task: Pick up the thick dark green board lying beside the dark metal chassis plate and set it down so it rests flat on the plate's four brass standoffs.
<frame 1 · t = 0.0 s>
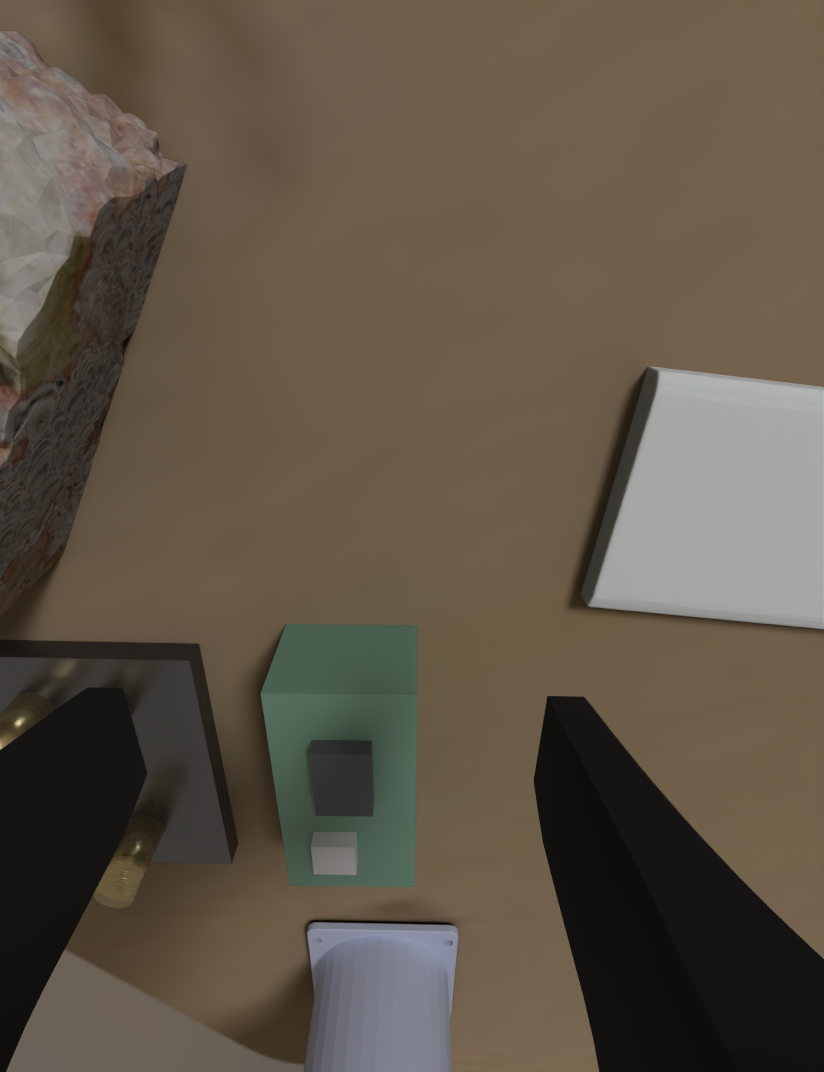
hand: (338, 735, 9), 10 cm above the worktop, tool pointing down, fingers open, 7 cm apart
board: (357, 718, 23), on the worktop
chassis: (106, 752, 24), on the worktop
external hard drive: (776, 502, 19), on the worktop
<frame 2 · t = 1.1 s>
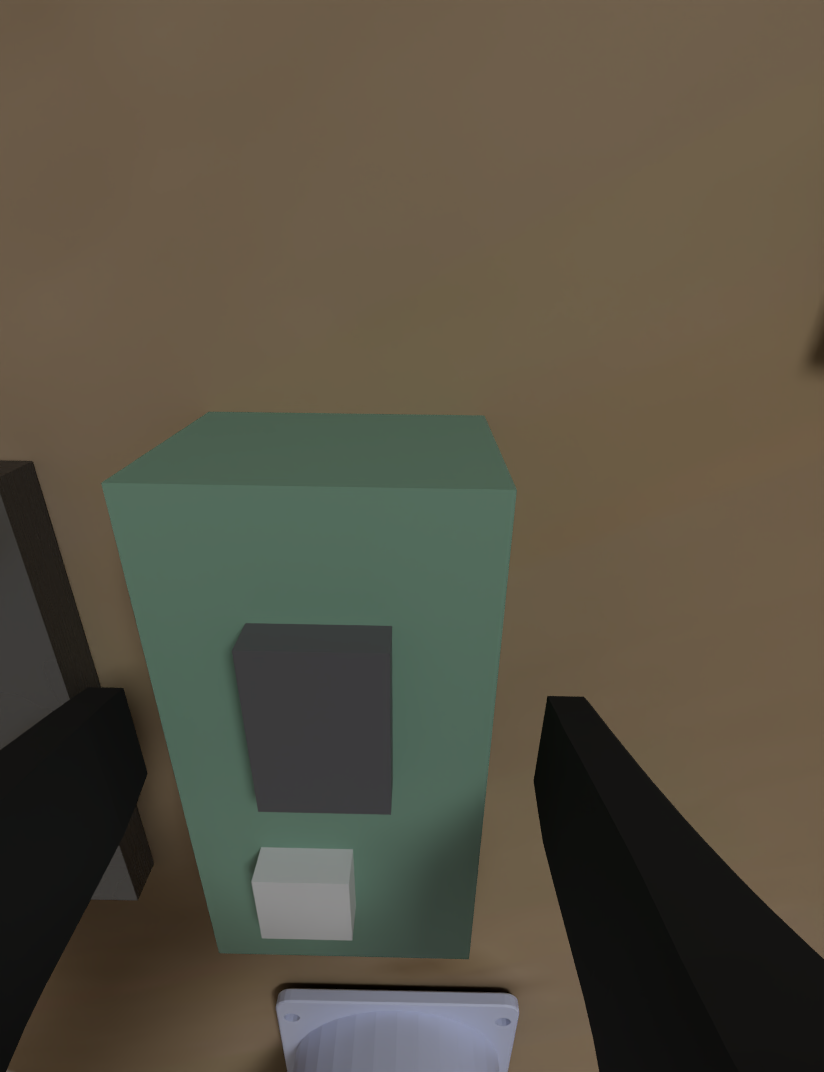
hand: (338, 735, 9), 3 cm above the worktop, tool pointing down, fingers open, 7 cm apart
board: (356, 631, 12), on the worktop
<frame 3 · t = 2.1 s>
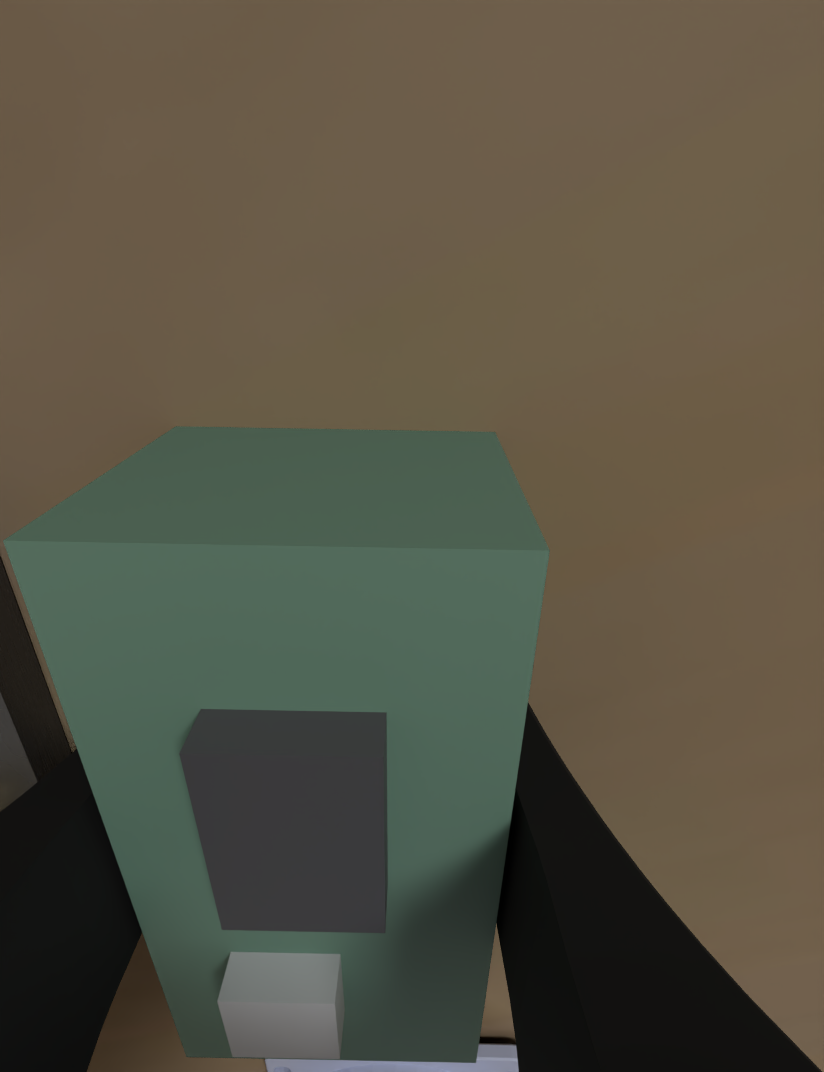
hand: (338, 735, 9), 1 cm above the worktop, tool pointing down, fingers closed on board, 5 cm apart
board: (347, 677, 11), on the worktop, touching gripper
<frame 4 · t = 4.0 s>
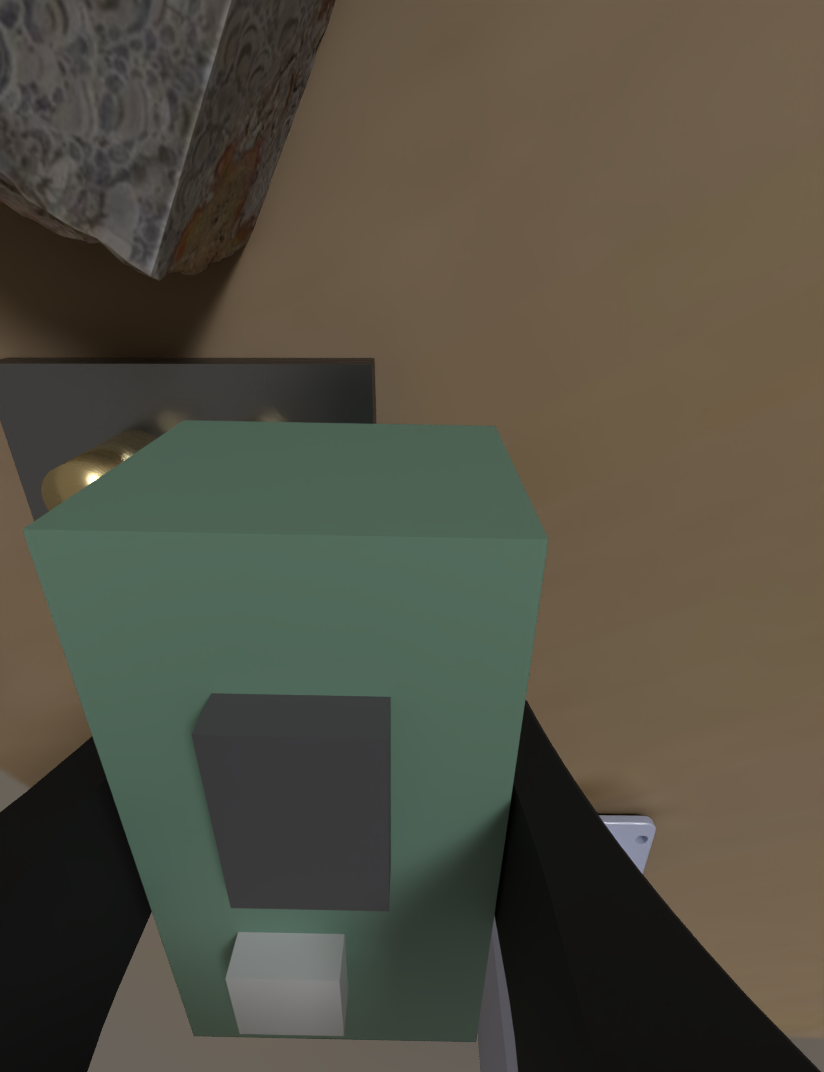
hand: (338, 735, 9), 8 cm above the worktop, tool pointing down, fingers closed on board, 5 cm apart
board: (350, 667, 11), point 7 cm above the worktop, touching gripper
chassis: (224, 553, 17), on the worktop
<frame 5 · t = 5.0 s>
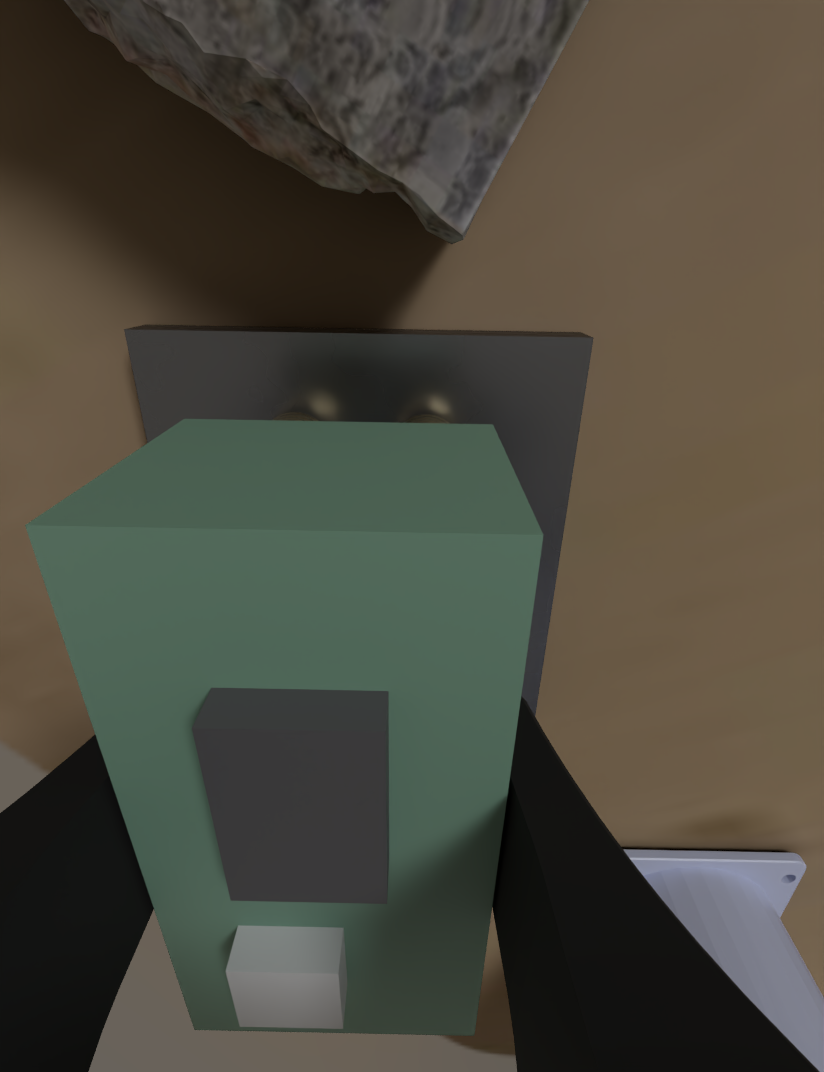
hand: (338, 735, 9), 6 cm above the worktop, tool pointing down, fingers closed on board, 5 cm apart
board: (349, 664, 11), point 5 cm above the worktop, touching gripper
chassis: (368, 558, 15), on the worktop
when the fingers open (6 cm above the worktop, at t = 5.7 s): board stays where it is, resting on chassis.
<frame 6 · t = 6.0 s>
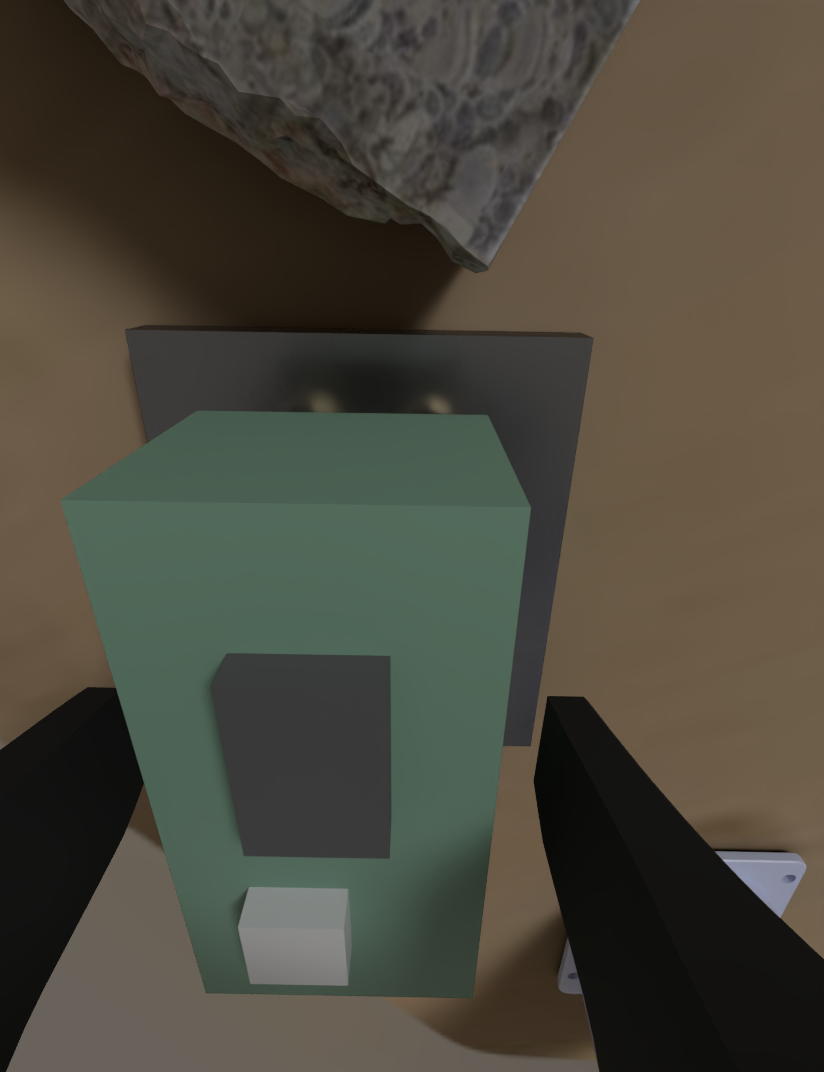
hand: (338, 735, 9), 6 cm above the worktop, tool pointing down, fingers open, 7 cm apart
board: (352, 647, 12), point 4 cm above the worktop, touching chassis
chassis: (368, 558, 15), on the worktop
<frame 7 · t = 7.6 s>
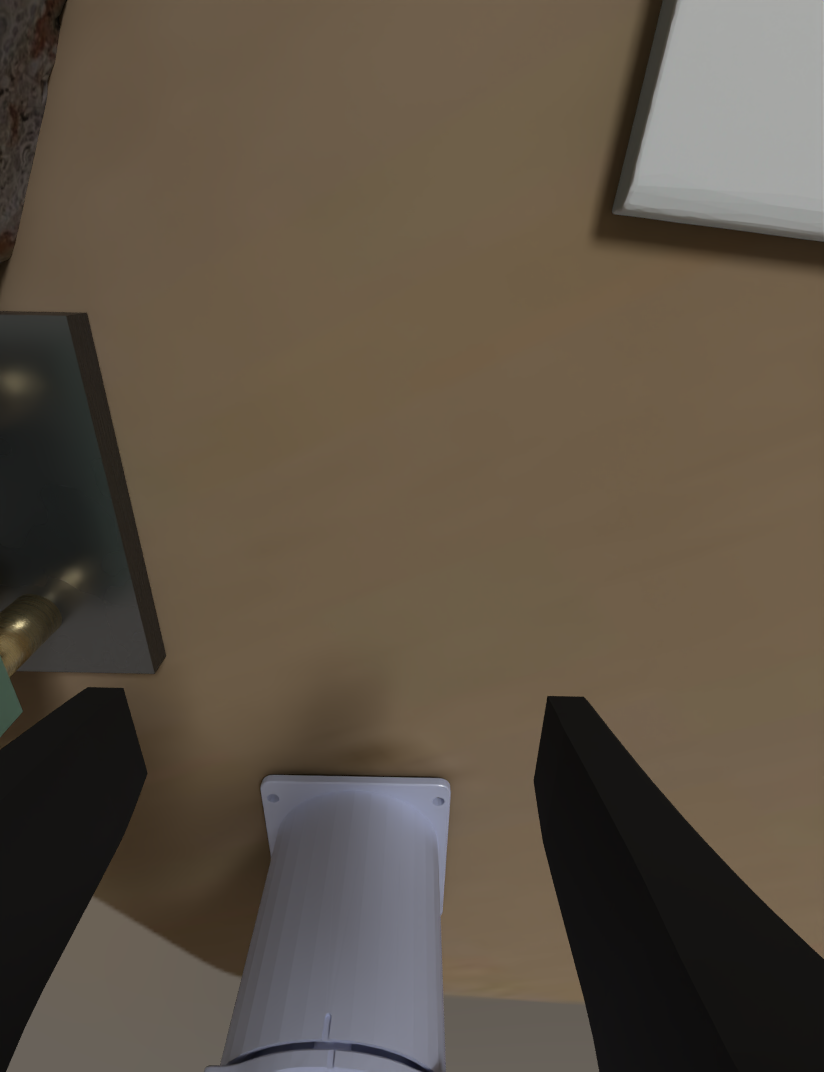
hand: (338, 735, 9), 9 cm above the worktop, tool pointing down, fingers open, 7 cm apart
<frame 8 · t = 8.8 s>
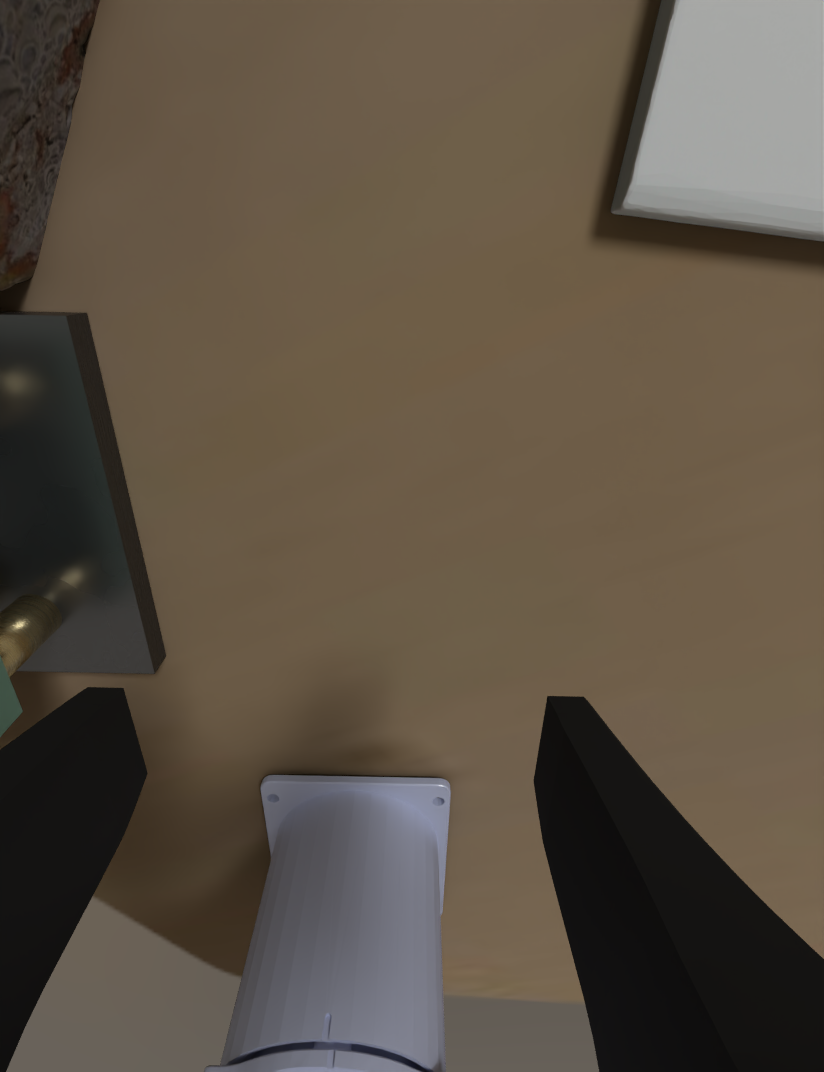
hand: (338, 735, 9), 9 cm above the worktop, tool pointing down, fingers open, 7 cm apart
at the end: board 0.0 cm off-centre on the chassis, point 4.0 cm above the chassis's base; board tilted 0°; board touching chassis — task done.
